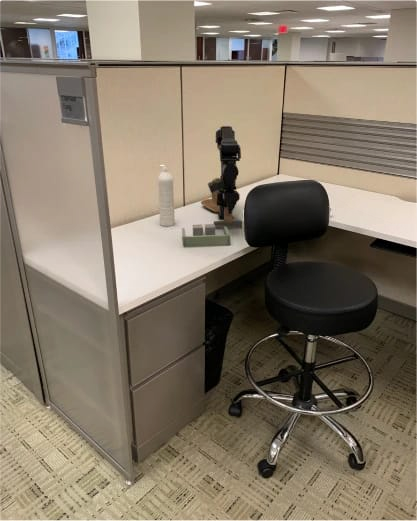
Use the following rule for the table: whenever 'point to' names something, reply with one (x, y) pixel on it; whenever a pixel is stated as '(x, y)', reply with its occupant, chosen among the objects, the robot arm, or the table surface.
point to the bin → (206, 239)
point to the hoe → (228, 222)
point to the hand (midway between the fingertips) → (228, 210)
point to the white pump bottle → (166, 197)
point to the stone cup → (211, 201)
